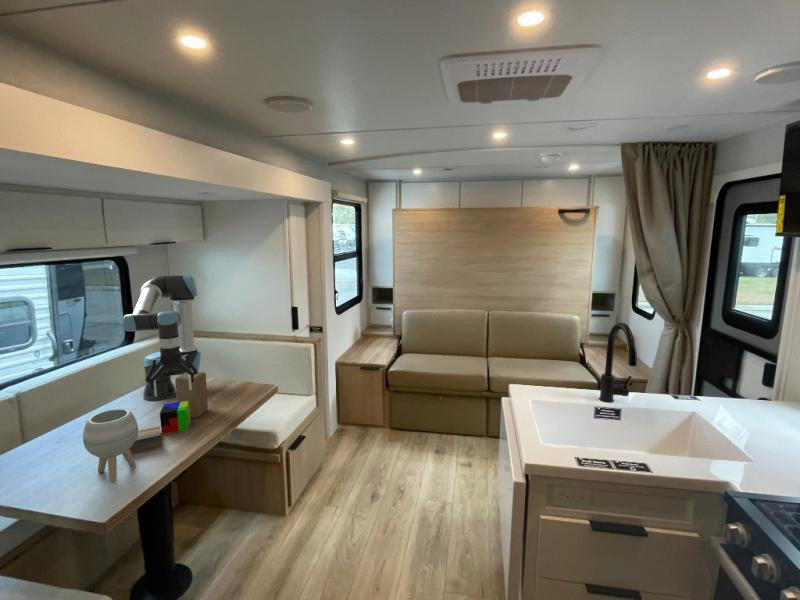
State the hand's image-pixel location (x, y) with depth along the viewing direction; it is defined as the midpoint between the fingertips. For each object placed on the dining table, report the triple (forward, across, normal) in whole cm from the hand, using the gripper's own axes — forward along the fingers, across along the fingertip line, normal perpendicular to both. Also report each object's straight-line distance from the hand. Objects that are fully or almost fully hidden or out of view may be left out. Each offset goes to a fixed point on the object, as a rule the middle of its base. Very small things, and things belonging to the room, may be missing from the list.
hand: (173, 392), depth 178 cm
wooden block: (+17, +8, +11) cm, 22 cm away
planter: (+17, -21, -28) cm, 39 cm away
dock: (+17, -13, -9) cm, 23 cm away
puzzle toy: (+17, 0, 0) cm, 17 cm away
